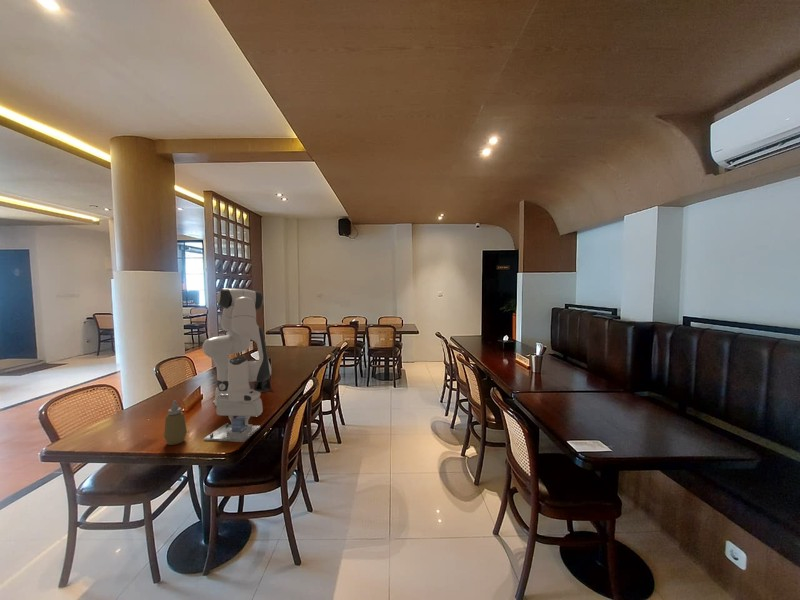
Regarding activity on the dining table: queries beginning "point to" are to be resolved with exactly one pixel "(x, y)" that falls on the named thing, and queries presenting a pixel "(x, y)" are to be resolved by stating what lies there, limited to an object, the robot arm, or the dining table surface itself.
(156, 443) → the dining table surface
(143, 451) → the dining table surface
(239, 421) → the servo
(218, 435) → the chassis
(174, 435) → the squeeze bottle
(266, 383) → the letter holder
